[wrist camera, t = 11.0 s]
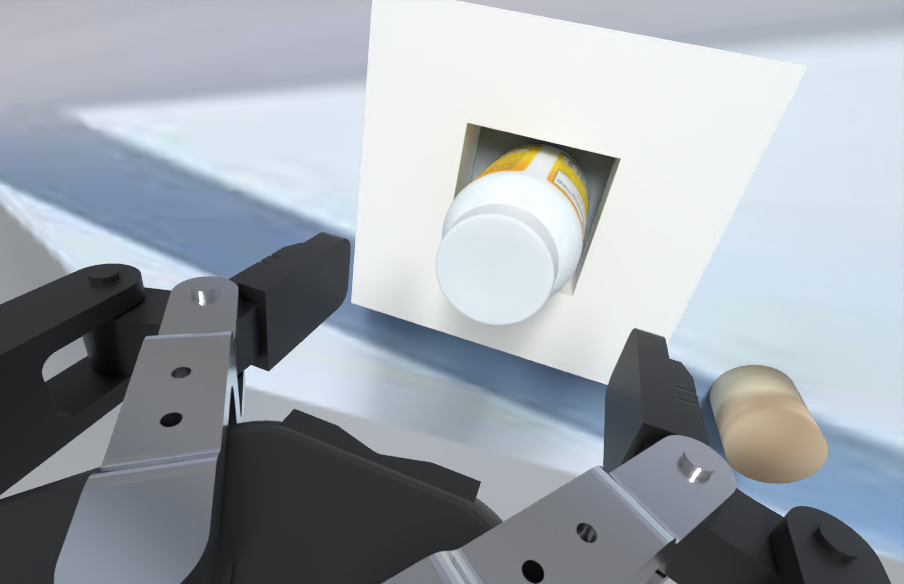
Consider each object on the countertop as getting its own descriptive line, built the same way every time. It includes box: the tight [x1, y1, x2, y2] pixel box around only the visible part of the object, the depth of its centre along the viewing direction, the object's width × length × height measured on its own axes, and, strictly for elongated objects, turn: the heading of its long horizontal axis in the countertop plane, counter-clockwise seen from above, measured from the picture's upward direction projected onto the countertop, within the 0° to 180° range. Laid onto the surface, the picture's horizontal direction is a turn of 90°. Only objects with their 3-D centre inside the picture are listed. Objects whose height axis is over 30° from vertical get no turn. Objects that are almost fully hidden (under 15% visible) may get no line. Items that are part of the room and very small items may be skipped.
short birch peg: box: [709, 365, 828, 484], centre depth 23 cm, size 4×4×4 cm
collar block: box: [351, 0, 807, 385], centre depth 22 cm, size 16×15×3 cm
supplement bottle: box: [435, 144, 589, 326], centre depth 19 cm, size 5×5×10 cm
